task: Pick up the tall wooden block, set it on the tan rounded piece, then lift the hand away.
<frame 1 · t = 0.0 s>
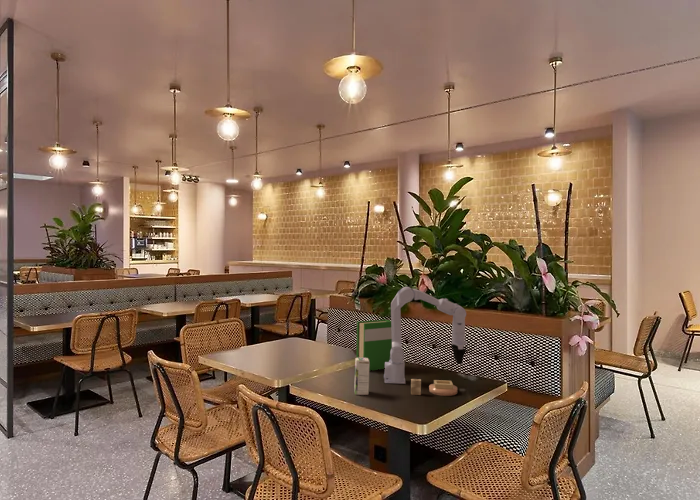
hand: (458, 361, 218), 10 cm above the table, tool pointing down, fingers open, 7 cm apart
tall wooden block: (415, 393, 202), on the table
tan rounded piece: (443, 391, 206), on the table
hardback book: (374, 368, 246), on the table
syrup box: (361, 393, 202), on the table
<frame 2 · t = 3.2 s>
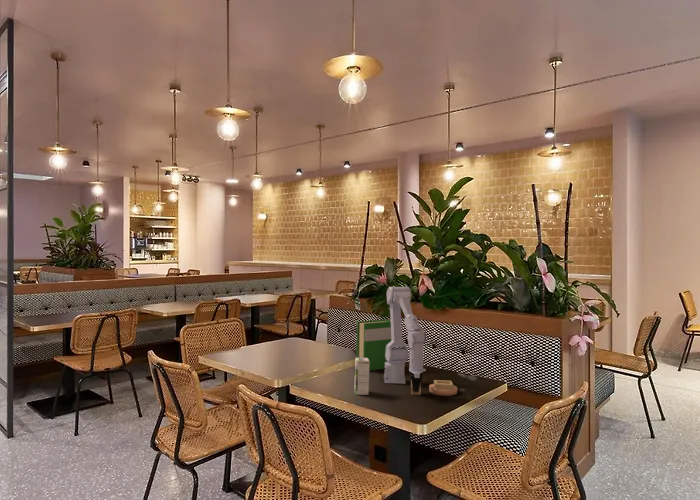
hand: (415, 390, 202), 1 cm above the table, tool pointing down, fingers closed on tall wooden block, 2 cm apart
tall wooden block: (415, 393, 202), on the table, touching gripper
everything else where it was.
when the fingers open (5 cm above the table, at t = 6.4 s): tall wooden block stays where it is, resting on tan rounded piece.
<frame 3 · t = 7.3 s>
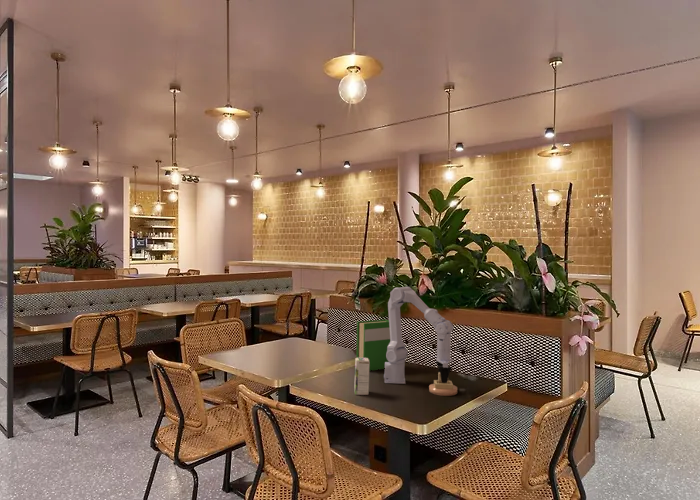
hand: (443, 380, 206), 5 cm above the table, tool pointing down, fingers open, 7 cm apart
tall wooden block: (443, 386, 206), point 2 cm above the table, touching tan rounded piece
everything else where it was.
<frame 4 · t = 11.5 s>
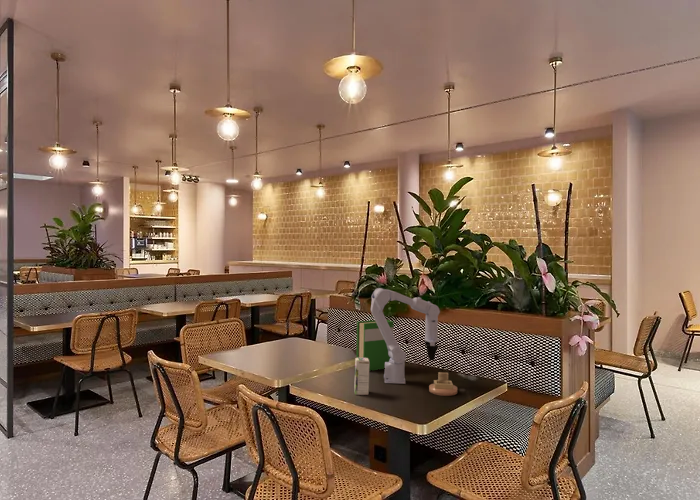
hand: (430, 358, 223), 10 cm above the table, tool pointing down, fingers open, 7 cm apart
nothing on the table moved.
at the end: tall wooden block 0.0 cm off-centre on the tan rounded piece, point 2.0 cm above the tan rounded piece's base; tall wooden block tilted 0°; the gripper is holding nothing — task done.
